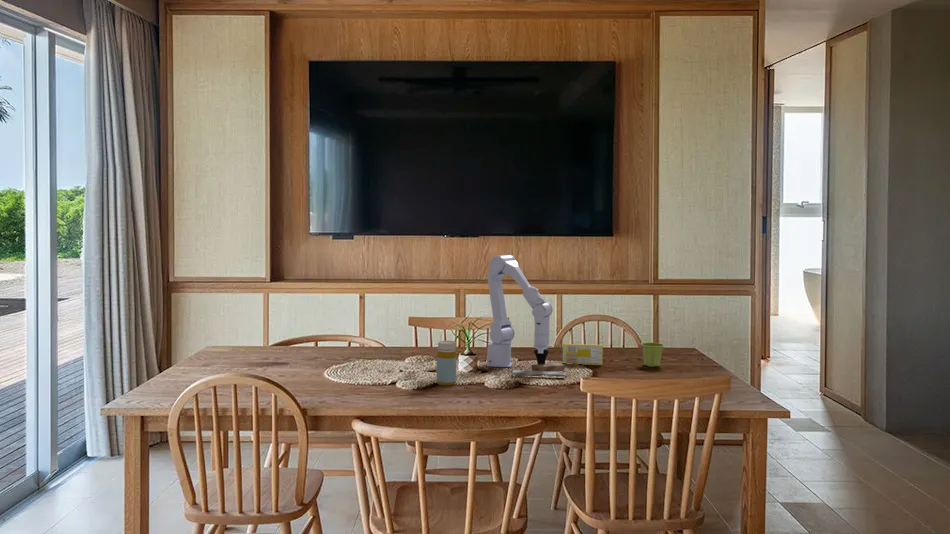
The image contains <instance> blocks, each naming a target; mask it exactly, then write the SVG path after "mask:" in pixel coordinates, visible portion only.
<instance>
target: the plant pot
mask: <svg viewBox="0 0 950 534" xmlns="http://www.w3.org/2000/svg"><path fill="white" fill-rule="evenodd" d="M640 345H641V348H642V355H643V365H644V366H647V367H660V365H661V359H662V352H663V350H664V347H665V344H664V343H660V342H659V343H658V342H641V343H640Z"/></svg>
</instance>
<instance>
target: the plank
mask: <svg viewBox="0 0 950 534" xmlns="http://www.w3.org/2000/svg"><path fill="white" fill-rule="evenodd" d="M565 368H566V364H562V362H553V363H552V362H551V363H549V362H548V363H545V364H531V371H548V372H551V371H563V370H564V371H565Z"/></svg>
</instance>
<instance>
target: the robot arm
mask: <svg viewBox="0 0 950 534" xmlns="http://www.w3.org/2000/svg"><path fill="white" fill-rule="evenodd" d="M488 266H489V267H488V271H487V274H486V276H487V285H488V290H489V292H488V293H489V297H490V298H489V299H490V305H491V313H492V322H491V324H490V325H489V327H490V331H489V338H490V340H491V342H488V343H487V349H486V350H487V353H486V355H487V356H486V366H487V367H496V368H497V367H498V368H511V367H512V365H513V362H511V360H512V359H511V356H512V340H513V339H514V338H515V329H514V328H513V326H512V322H511V321H510V319H508V314H507V307H506V302H505V295H504V288H503V281H502V279H503V278H504V276H505V275H508V276H511V278H512V279H514V281H515V282H516V284H517V285H519V287H520V288H521V290H522V296H523V298H524V299H525V301H526V302H527V304H528V305H529V306H530V308H531V309H532V310H531V313H532V316H533V318H534V332H533V333H534V336H533V337H534V338H533V348H535V349H534V350H533V353H534V355H535V358H536V362H537V364H546V360H547V356H548V354H549V353H550V350H549V348H550V349H551V348H553V345H552V344H550V326H551V325H550V323H551V322H550V317H551V315H552V313H553V312H554V311H553V306H552V303H550V302H549V301H546V299H545V298H543V296H542V294H541V293H540V292H539V288H536V287H535V286H532V285H531V284H530V283H529V281H528V279H527V278H526V276H525V274H524V273H523V271H522V269H521V268H520V266H519V262H518V261H517V260H516V259H515V256H513V255H512V254H501V255H499V254H498V255H496V254H495V255H494V256H492V258H491V259H490V260H489V261H488Z"/></svg>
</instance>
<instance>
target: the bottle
mask: <svg viewBox="0 0 950 534" xmlns="http://www.w3.org/2000/svg"><path fill="white" fill-rule="evenodd" d="M456 343H457V342H456V341H453V340H440V341H438V342H437V353H436V378H435V379H436V383H437V385H438V386H442V387H443V386H444V387H445V386H446V387H447V386H448V387H449V386H450V387H451V386H454V385H455V384H456V383H457V359H458V358H457V354H456V353H457V352H456Z"/></svg>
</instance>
